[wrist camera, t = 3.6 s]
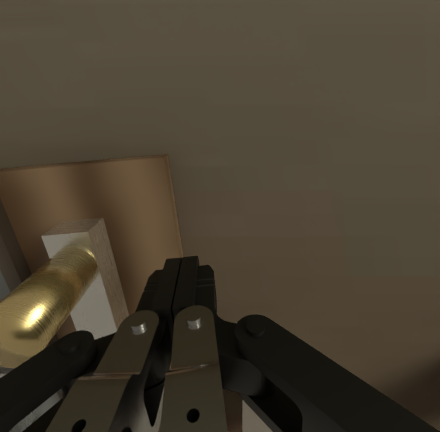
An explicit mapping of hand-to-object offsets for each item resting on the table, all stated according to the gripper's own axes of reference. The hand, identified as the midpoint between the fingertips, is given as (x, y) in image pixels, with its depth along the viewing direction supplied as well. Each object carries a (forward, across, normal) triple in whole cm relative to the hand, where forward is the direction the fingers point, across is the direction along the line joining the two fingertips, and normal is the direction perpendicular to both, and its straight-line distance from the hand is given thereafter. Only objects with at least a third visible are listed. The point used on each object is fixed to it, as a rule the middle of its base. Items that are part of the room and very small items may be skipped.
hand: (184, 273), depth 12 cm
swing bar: (+4, +6, +6) cm, 9 cm away
